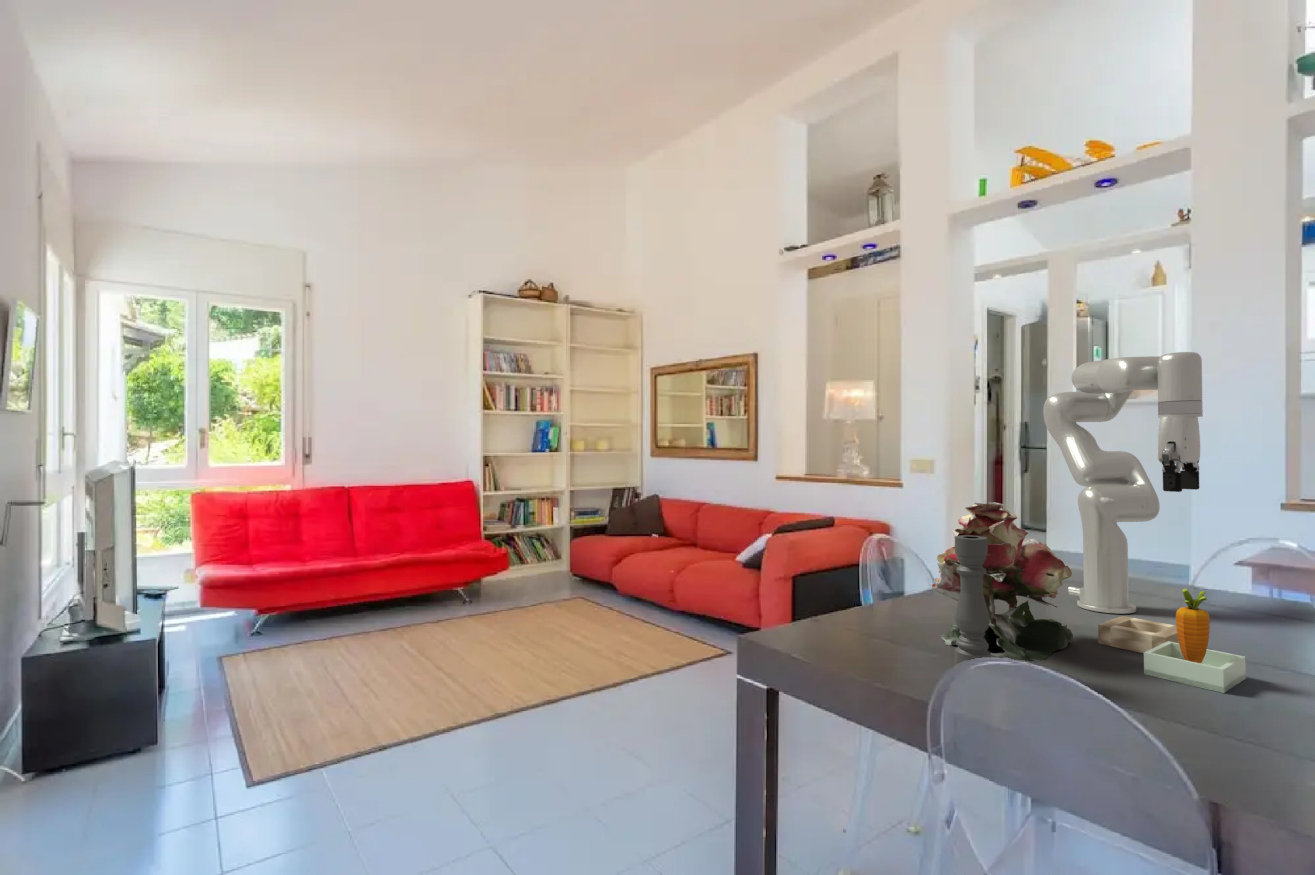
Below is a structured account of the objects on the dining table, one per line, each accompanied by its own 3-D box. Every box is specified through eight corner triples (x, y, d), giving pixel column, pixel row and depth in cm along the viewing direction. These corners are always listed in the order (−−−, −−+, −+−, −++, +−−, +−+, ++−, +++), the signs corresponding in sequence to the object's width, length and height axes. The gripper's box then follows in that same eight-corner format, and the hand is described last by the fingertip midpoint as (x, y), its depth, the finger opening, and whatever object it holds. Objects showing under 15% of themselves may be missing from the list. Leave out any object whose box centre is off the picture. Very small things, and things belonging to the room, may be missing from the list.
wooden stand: (1098, 643, 142) (1098, 624, 142) (1122, 633, 149) (1122, 615, 149) (1165, 658, 132) (1165, 637, 132) (1188, 647, 139) (1188, 627, 139)
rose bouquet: (1083, 639, 145) (1081, 501, 146) (1030, 670, 126) (1028, 511, 127) (966, 616, 165) (964, 495, 165) (904, 640, 146) (902, 503, 146)
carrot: (1206, 667, 123) (1204, 586, 123) (1215, 677, 119) (1213, 592, 119) (1173, 664, 125) (1171, 584, 125) (1180, 673, 121) (1178, 590, 121)
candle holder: (948, 663, 130) (946, 535, 130) (979, 662, 131) (977, 534, 131) (966, 674, 124) (964, 540, 124) (997, 673, 125) (995, 539, 125)
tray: (1144, 674, 123) (1143, 652, 123) (1168, 661, 130) (1168, 641, 130) (1223, 693, 114) (1223, 669, 114) (1245, 679, 120) (1245, 656, 120)
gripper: (1174, 411, 151) (1175, 487, 151) (1143, 410, 141) (1144, 491, 141) (1216, 410, 145) (1217, 489, 145) (1186, 408, 135) (1187, 493, 135)
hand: (1181, 490), depth 143 cm, fingers open, 9 cm apart
